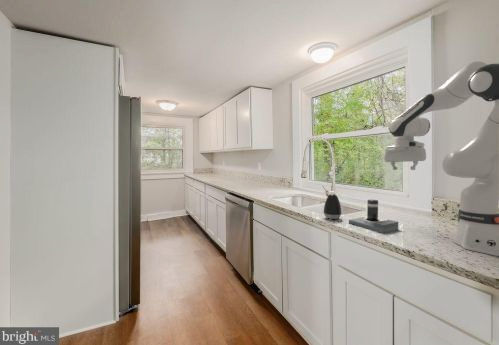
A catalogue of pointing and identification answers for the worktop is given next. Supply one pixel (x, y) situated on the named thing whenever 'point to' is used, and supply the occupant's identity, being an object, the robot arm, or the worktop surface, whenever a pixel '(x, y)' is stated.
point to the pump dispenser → (332, 207)
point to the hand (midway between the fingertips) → (403, 169)
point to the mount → (376, 224)
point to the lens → (372, 210)
